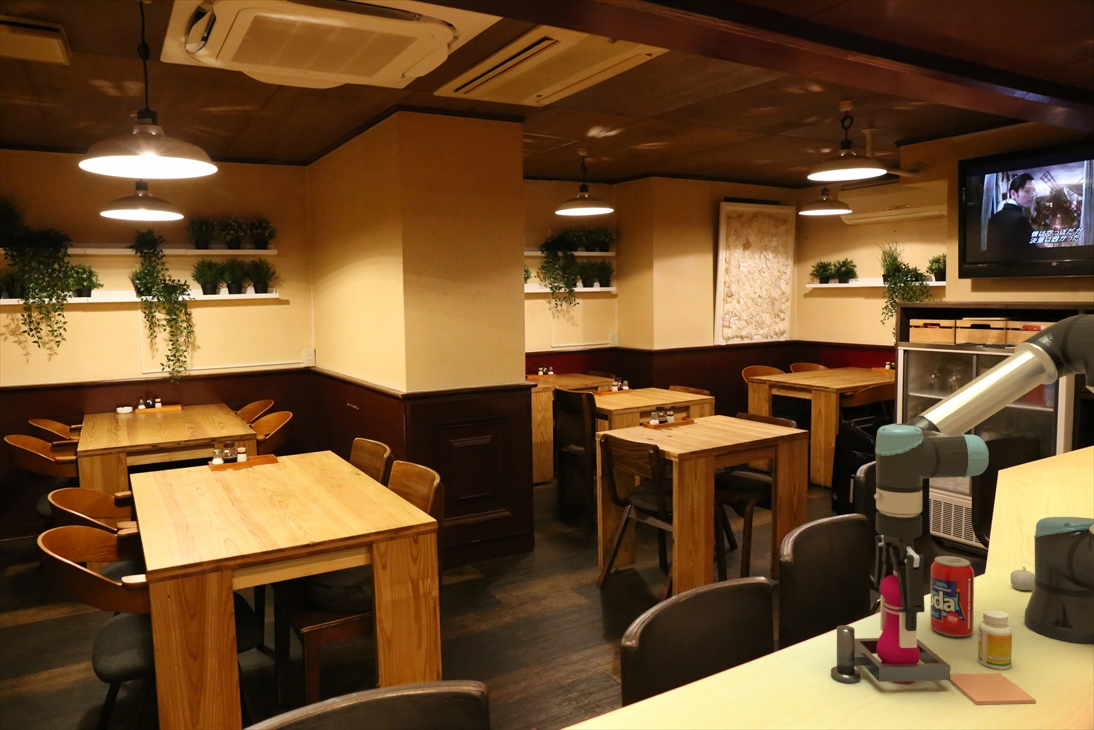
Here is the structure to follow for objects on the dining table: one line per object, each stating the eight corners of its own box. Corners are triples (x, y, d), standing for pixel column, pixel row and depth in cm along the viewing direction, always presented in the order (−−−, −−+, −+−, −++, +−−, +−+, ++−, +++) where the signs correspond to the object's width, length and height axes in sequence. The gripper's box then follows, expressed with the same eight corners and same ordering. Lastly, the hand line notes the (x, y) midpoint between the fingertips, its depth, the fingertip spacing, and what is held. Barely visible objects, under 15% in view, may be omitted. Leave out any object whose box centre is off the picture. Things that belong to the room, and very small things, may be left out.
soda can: (982, 637, 157) (983, 564, 156) (949, 641, 155) (950, 567, 154) (953, 622, 164) (953, 553, 163) (921, 627, 162) (922, 556, 161)
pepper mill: (924, 686, 136) (925, 574, 135) (880, 683, 137) (881, 572, 136) (914, 668, 143) (914, 562, 142) (872, 666, 144) (872, 560, 143)
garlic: (1017, 583, 188) (1018, 562, 187) (1041, 589, 183) (1042, 568, 183) (1004, 588, 184) (1005, 567, 184) (1028, 595, 180) (1029, 572, 180)
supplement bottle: (971, 660, 146) (971, 610, 146) (992, 655, 148) (993, 606, 147) (996, 672, 141) (997, 620, 140) (1018, 667, 143) (1019, 616, 142)
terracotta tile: (999, 676, 139) (999, 672, 139) (1035, 703, 129) (1035, 699, 129) (944, 677, 139) (944, 674, 139) (976, 704, 129) (976, 701, 129)
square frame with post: (915, 660, 146) (915, 613, 146) (950, 691, 134) (950, 640, 134) (819, 662, 146) (819, 615, 146) (845, 694, 134) (845, 642, 133)
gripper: (855, 500, 148) (854, 618, 150) (903, 527, 129) (903, 662, 130) (894, 499, 149) (893, 617, 150) (948, 526, 129) (947, 661, 130)
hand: (898, 638), depth 140 cm, fingers open, 7 cm apart
